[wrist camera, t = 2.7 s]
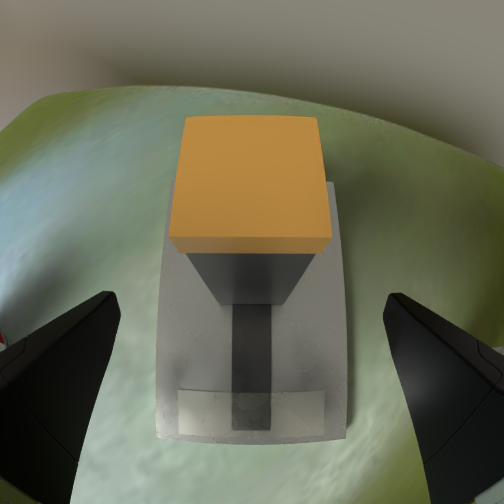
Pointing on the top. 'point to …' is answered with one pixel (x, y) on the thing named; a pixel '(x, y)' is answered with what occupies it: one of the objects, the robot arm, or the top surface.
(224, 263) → the handle
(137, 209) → the top surface
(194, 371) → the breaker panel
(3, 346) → the soda can
